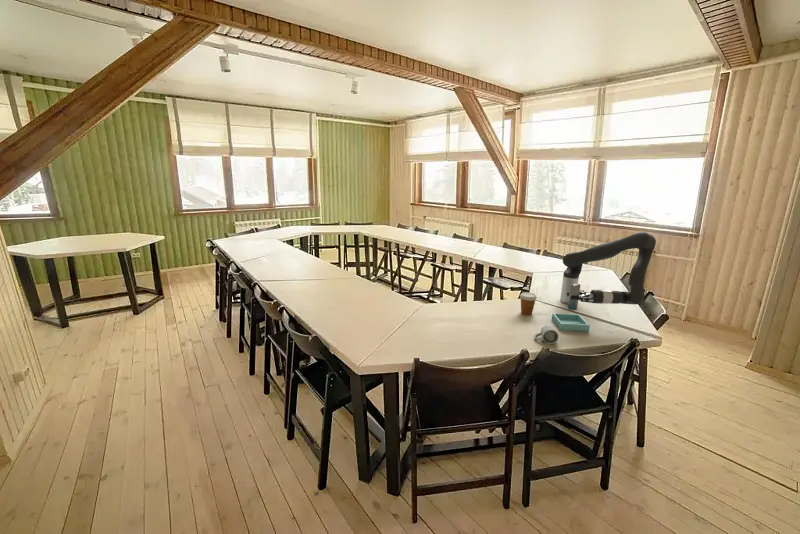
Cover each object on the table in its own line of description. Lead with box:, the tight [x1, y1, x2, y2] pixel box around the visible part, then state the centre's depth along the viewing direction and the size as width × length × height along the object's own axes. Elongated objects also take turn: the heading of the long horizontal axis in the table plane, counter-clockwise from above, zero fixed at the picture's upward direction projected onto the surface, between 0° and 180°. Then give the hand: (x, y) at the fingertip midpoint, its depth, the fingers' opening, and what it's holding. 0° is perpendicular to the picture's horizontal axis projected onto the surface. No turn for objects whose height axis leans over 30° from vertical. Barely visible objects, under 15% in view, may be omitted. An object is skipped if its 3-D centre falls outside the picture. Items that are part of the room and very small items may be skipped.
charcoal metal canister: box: [566, 283, 581, 311], centre depth 196 cm, size 5×5×14 cm
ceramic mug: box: [533, 324, 560, 345], centre depth 183 cm, size 11×8×8 cm
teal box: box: [551, 312, 591, 333], centre depth 200 cm, size 15×15×4 cm
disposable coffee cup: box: [519, 291, 537, 316], centre depth 216 cm, size 10×10×12 cm
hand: (569, 295), depth 196 cm, fingers closed on charcoal metal canister, 5 cm apart
